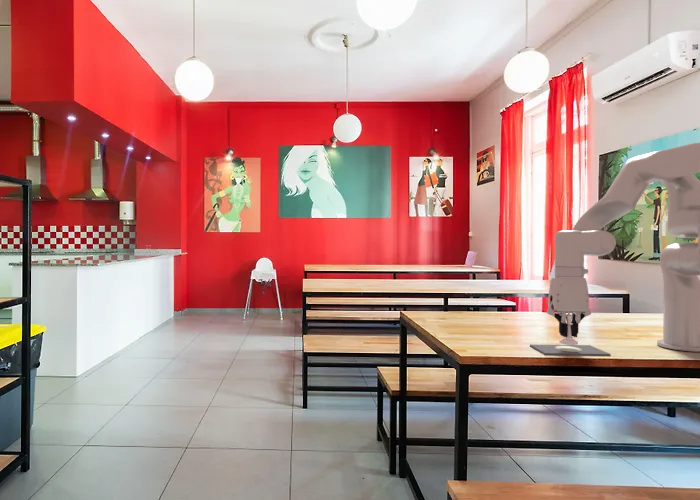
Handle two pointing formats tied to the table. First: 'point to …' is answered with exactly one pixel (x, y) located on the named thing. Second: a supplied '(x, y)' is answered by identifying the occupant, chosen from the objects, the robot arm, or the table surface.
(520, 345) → the table surface
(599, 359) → the table surface
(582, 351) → the mat
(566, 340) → the chess piece
